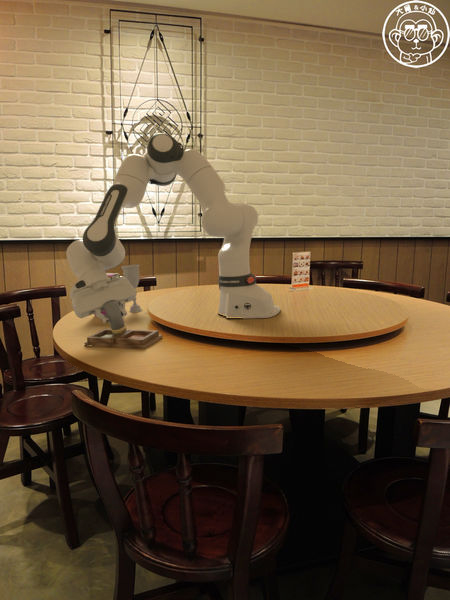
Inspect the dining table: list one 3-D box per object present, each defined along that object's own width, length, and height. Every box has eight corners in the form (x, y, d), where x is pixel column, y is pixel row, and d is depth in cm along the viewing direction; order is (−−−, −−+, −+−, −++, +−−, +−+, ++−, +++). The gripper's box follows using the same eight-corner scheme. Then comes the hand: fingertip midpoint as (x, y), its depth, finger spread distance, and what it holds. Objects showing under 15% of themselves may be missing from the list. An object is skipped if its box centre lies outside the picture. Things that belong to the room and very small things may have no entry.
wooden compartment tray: (162, 337, 144) (161, 330, 143) (144, 349, 134) (143, 340, 133) (105, 335, 151) (104, 328, 151) (84, 345, 141) (83, 338, 141)
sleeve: (129, 326, 148) (120, 299, 143) (122, 334, 144) (113, 306, 139) (116, 326, 149) (107, 299, 145) (109, 334, 145) (100, 307, 141)
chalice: (134, 313, 179) (129, 267, 175) (123, 312, 183) (117, 267, 179) (148, 309, 184) (143, 264, 181) (136, 308, 189) (131, 264, 185)
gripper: (123, 280, 156) (143, 312, 152) (65, 298, 145) (84, 334, 141) (126, 269, 151) (147, 302, 147) (66, 287, 140) (86, 323, 136)
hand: (116, 318), depth 144 cm, fingers closed on sleeve, 5 cm apart
